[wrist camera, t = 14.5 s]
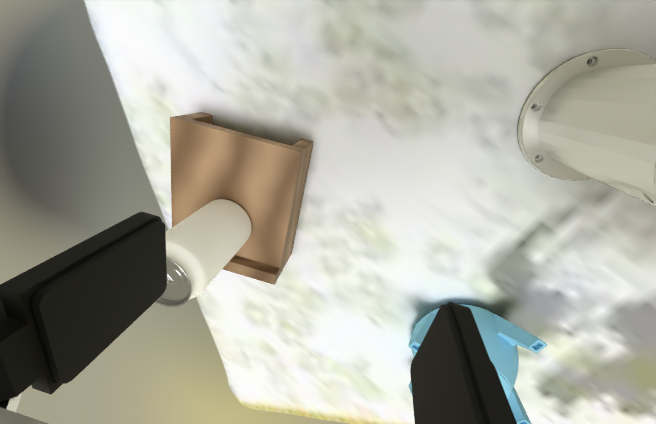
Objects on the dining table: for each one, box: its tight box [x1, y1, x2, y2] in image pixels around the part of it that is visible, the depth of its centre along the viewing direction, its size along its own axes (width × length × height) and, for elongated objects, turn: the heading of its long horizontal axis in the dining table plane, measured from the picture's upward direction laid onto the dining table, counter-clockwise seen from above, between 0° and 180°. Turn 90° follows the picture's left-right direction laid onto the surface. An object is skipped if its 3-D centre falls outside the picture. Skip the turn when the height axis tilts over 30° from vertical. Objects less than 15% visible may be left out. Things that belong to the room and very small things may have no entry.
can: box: [155, 199, 251, 307], centre depth 30 cm, size 6×6×12 cm
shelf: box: [170, 113, 313, 285], centre depth 37 cm, size 15×17×8 cm
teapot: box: [409, 304, 547, 424], centre depth 39 cm, size 15×15×11 cm
